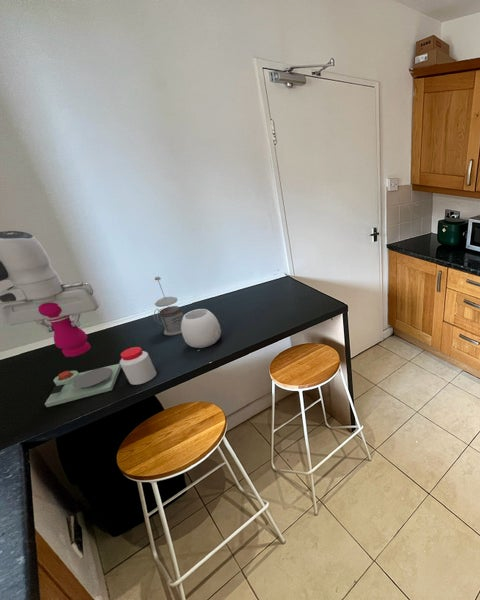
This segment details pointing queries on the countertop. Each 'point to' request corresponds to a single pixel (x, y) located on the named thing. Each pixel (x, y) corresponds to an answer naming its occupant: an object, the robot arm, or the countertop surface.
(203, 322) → the white round vase
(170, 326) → the french press
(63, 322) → the pepper mill
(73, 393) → the scale
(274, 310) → the countertop surface
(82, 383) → the scale top
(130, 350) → the pill bottle
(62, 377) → the button
